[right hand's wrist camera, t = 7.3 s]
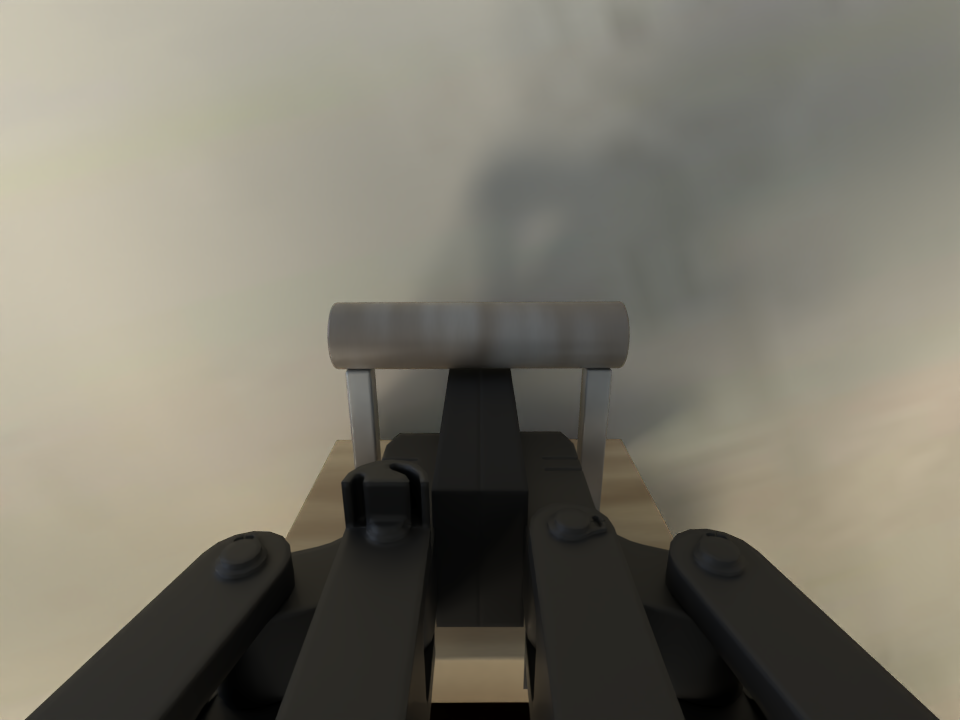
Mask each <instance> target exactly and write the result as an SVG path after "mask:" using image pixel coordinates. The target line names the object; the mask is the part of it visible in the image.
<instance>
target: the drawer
mask: <svg viewBox="0 0 960 720" xmlns="http://www.w3.org/2000/svg"><path fill="white" fill-rule="evenodd" d="M328 348H329V354H330V358H331V361H332V364H333V366H334V367H335V368H337V369H348V370H347V371H346V381H347V392H348V402H349V413H350V424H351V434H352V440H337V441H336V443H335V445H334V447H333V449H332V450H331V452H330V454H329V456H328V458H327V460H326V462H325V464H324V466H323V468H322V470H321V472H320V473H319V475H318V477H317V479H316V481H315V483H314V485H313V487H312V489H311V491H310V493H309V495H308V497H307V498H306V500H305V502H304V504H303V506H302V508H301V510H300V512H299V514H298V516H297V518H296V520H295V522H294V523H293V525H292V527H291V529H290V531H289V533H288V535H287V537H286V539H285V540H286V541H287V542H288V543H289V544H290V548H291V552H295V551H300V550H304V549H309V548H313V547H318V546H321V545H324V544H328V543H331V542H333V541H335V540H337V539H339V538H341V537H343V534H344V531H345V529H346V525H345V516H344V506H343V496H342V487H341V482H342V480H343V479H344V478H345V476H346V475H347V474H348V473H349V472H351V471H352V470H354V469H356V468H357V467H359V466H361V465H364V464H367V463H371V462H374V461H380V460H382V457H383V454H384V451H385V448H386V445H387V444H388V443H389V442H391V441H392V440H380V433H379V420H378V406H377V393H376V379H375V369H498V368H582V382H581V397H580V412H579V427H578V439H569V440H570V441H571V442H573V443H574V446H575V449H576V452H577V455H578V459H579V461H580V464H581V467H582V471H583V473H584V476H585V479H586V482H587V484H588V487H589V490H590V493H591V496H592V499H593V502H594V505H595V508H596V509H597V510H598V511H599V512H601V513H602V514H604V515H605V516H607V517H608V519H609V520H610V522H611V523H612V525H613V526H614V528H615V530H616V533H617V535H619V536H621V537H623V538H626V539H628V540H630V541H633V542H637V543H640V544H643V545H648V546H652V547H657V548H661V549H666V550H669V548H670V542H671V541H672V540H673V537H672V535H671V533H670V531H669V529H668V527H667V525H666V523H665V522H664V520H663V518H662V516H661V514H660V512H659V510H658V508H657V506H656V504H655V503H654V501H653V499H652V497H651V495H650V493H649V491H648V489H647V487H646V486H645V484H644V482H643V480H642V478H641V476H640V474H639V472H638V470H637V469H636V467H635V465H634V463H633V461H632V459H631V457H630V455H629V453H628V452H627V450H626V448H625V446H624V444H623V442H622V440H621V439H606V434H607V422H608V411H609V399H610V388H611V376H612V371H611V369H610V368H620V367H622V366H623V365H624V363H625V361H626V358H627V354H628V348H629V320H628V314H627V311H626V308H625V306H624V304H623V303H622V302H370V303H335V304H334V305H333V306H332V308H331V311H330V315H329V320H328ZM524 655H525V619H524V627H436V621H435V666H434V677H433V689H432V700H431V712H430V720H530V711H529V699H528V689H523V682H524Z"/></svg>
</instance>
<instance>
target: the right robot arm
mask: <svg viewBox="0 0 960 720" xmlns="http://www.w3.org/2000/svg"><path fill="white" fill-rule="evenodd" d="M341 487H342V496H343V506H344V516H345V525H346V529H345V531H344V534H343V537H341V538H339V539H337V540H335V541H333V542H331V543H328V544H324V545H321V546H318V547H313V548H309V549H304V550H300V551H295V552H291V548H290V544H289V543H288V542H287V541H286V540H285V538H284V537H283V536H281V535H278V534H275V533H272V532H262V531H252V532H248V533H243V534H238V535H234V536H232V537H230V538H227V539H225V540H223V541H220V542H218V543H217V544H215V545H214V546H212V547H211V548H210V549H208V550H207V551H205V552H204V553H203V554H202V555H201V556H199V557H198V558H197V559H196V560H195V561H194V562H193V563H192V564H191V565H190V566H189V567H188V568H187V569H186V570H185V571H183V572H182V573H181V574H180V575H179V576H178V577H177V578H176V579H175V580H174V581H173V582H172V583H171V584H170V585H168V586H167V587H166V588H165V589H164V590H163V591H162V592H161V593H160V594H159V595H158V596H157V597H156V598H155V599H153V600H152V601H151V602H150V603H149V604H148V605H147V606H146V607H145V608H144V609H143V610H142V611H141V612H140V613H139V614H137V615H136V616H135V617H134V618H133V619H132V620H131V621H130V622H129V623H128V624H127V625H126V626H125V627H124V628H122V629H121V630H120V631H119V632H118V633H117V634H116V635H115V636H114V637H113V638H112V639H111V640H110V641H109V642H108V643H106V644H105V645H104V646H103V647H102V648H101V649H100V650H99V651H98V652H97V653H96V654H95V655H94V656H93V657H91V658H90V659H89V660H88V661H87V662H86V663H85V664H84V665H83V666H82V667H81V668H80V669H79V670H78V671H76V672H75V673H74V674H73V675H72V676H71V677H70V678H69V679H68V680H67V681H66V682H65V683H64V684H63V685H62V686H60V687H59V688H58V689H57V690H56V691H55V692H54V693H53V694H52V695H51V696H50V697H49V698H48V699H47V700H45V701H44V702H43V703H42V704H41V705H40V706H39V707H38V708H37V709H36V710H35V711H34V712H33V713H32V714H30V715H29V716H28V717H27V718H26V719H25V720H430V712H431V700H432V689H433V677H434V666H435V621H436V627H524V619H525V655H524V682H523V689H528V699H529V711H530V720H939V719H938V718H937V717H936V716H935V715H934V714H933V713H932V712H931V711H930V710H929V709H928V708H926V707H925V706H924V705H923V704H922V703H921V702H920V701H919V700H918V699H917V698H916V697H915V696H914V695H912V694H911V693H910V692H909V691H908V690H907V689H906V688H905V687H904V686H903V685H902V684H901V683H900V682H898V681H897V680H896V679H895V678H894V677H893V676H892V675H891V674H890V673H889V672H888V671H887V670H885V669H884V668H883V667H882V666H881V665H880V664H879V663H878V662H877V661H876V660H875V659H874V658H873V657H871V656H870V655H869V654H868V653H867V652H866V651H865V650H864V649H863V648H862V647H861V646H860V645H859V644H857V643H856V642H855V641H854V640H853V639H852V638H851V637H850V636H849V635H848V634H847V633H846V632H845V631H843V630H842V629H841V628H840V627H839V626H838V625H837V624H836V623H835V622H834V621H833V620H832V619H831V618H829V617H828V616H827V615H826V614H825V613H824V612H823V611H822V610H821V609H820V608H819V607H818V606H817V605H815V604H814V603H813V602H812V601H811V600H810V599H809V598H808V597H807V596H806V595H805V594H804V593H803V592H801V591H800V590H799V589H798V588H797V587H796V586H795V585H794V584H793V583H792V582H791V581H790V580H789V579H787V578H786V577H785V576H784V575H783V574H782V573H781V572H780V571H779V570H778V569H777V568H776V567H774V566H773V565H772V564H771V563H770V562H769V561H768V560H767V559H766V558H765V557H764V556H763V555H762V554H760V553H759V552H758V551H757V550H756V549H754V548H753V547H752V546H750V545H749V544H747V543H746V542H745V541H743V540H741V539H739V538H736V537H734V536H732V535H729V534H727V533H724V532H719V531H715V530H710V529H690V530H687V531H684V532H682V533H679V534H677V535H676V536H675V537H674V539H673V540H672V541H671V542H670V548H669V550H666V549H661V548H657V547H652V546H648V545H643V544H640V543H637V542H633V541H630V540H628V539H626V538H623V537H621V536H619V535H617V533H616V530H615V528H614V526H613V525H612V523H611V522H610V520H609V519H608V517H607V516H605V515H604V514H602V513H601V512H599V511H598V510H597V509H596V508H595V505H594V502H593V499H592V496H591V493H590V490H589V487H588V484H587V482H586V479H585V476H584V473H583V471H582V467H581V464H580V461H579V459H578V455H577V452H576V449H575V446H574V443H573V442H571V441H570V440H569V439H568V438H567V437H566V436H565V435H563V434H562V433H561V432H520V430H519V423H518V417H517V410H516V403H515V397H514V390H513V383H512V377H511V370H510V368H498V369H450V370H449V376H448V383H447V390H446V396H445V403H444V410H443V416H442V423H441V430H440V433H400V434H399V435H397V436H396V437H395V438H394V439H393V440H392V441H391V442H389V443H388V444H387V445H386V448H385V451H384V454H383V457H382V460H380V461H374V462H371V463H367V464H364V465H361V466H359V467H357V468H356V469H354V470H352V471H351V472H349V473H348V474H347V475H346V476H345V478H344V479H343V480H342V482H341Z"/></svg>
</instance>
